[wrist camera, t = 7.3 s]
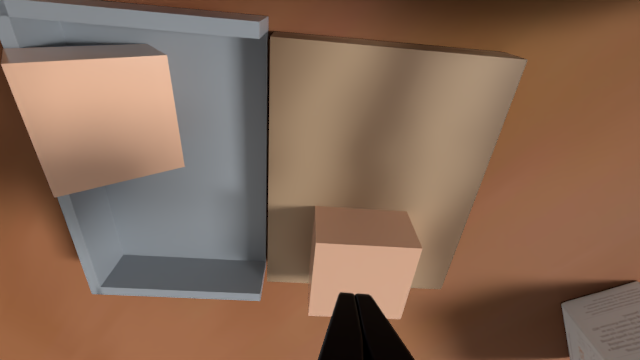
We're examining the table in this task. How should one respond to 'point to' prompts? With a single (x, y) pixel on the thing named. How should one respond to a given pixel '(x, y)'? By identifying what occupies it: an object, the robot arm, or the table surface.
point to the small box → (604, 324)
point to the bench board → (380, 139)
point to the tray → (197, 146)
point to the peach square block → (362, 258)
